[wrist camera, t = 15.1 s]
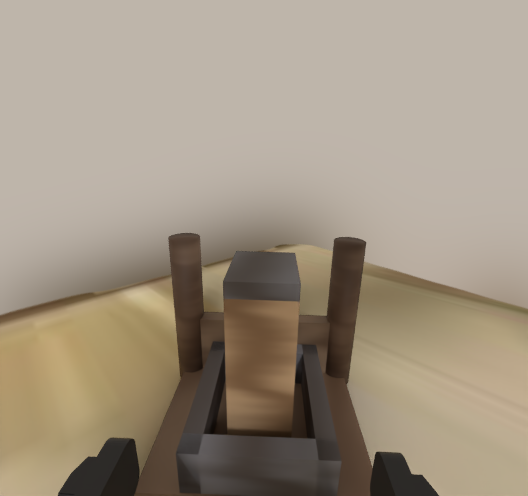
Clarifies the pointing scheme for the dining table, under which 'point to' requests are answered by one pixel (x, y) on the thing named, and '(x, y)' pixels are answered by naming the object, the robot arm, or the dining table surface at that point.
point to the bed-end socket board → (304, 407)
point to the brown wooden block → (261, 342)
